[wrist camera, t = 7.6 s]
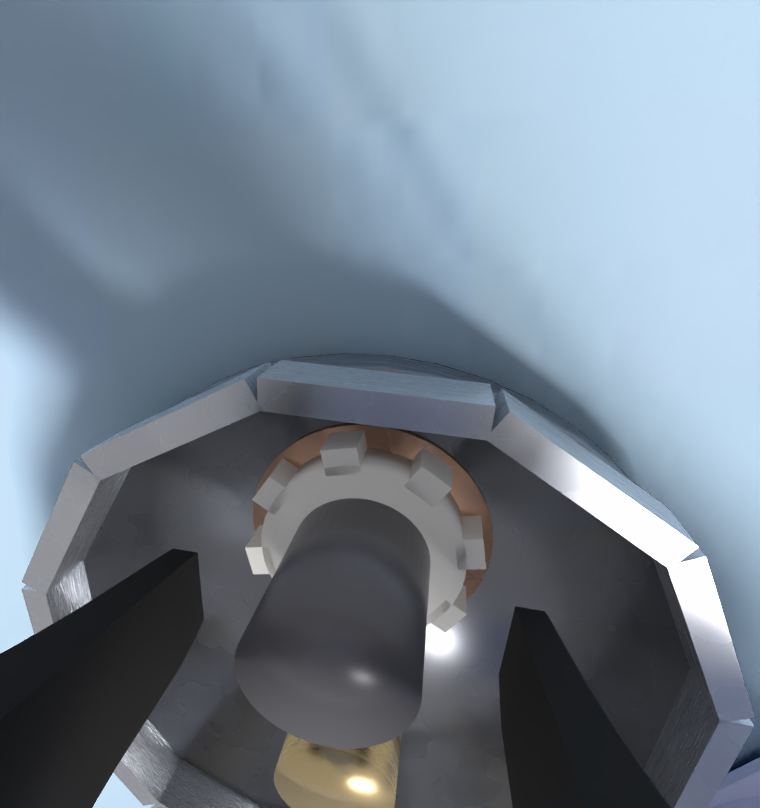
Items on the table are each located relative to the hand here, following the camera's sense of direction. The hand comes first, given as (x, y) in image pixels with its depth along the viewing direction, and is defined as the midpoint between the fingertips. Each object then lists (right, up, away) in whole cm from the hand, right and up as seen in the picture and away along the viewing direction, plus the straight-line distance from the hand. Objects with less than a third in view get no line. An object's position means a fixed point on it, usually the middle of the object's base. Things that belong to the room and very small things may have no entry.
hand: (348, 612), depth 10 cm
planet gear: (0, +1, +3) cm, 3 cm away
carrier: (0, -4, +6) cm, 7 cm away
